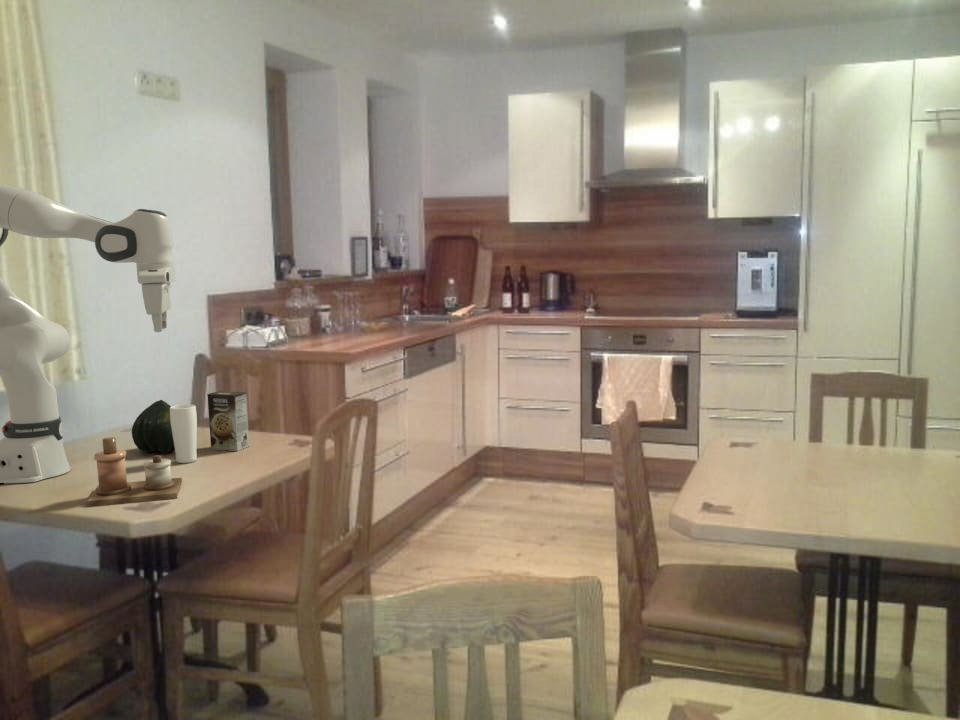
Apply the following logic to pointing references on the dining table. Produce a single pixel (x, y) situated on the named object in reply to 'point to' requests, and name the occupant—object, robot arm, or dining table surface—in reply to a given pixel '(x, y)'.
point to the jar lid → (109, 451)
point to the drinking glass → (184, 432)
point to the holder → (134, 483)
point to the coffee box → (228, 420)
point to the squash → (154, 429)
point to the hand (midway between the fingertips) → (160, 330)
